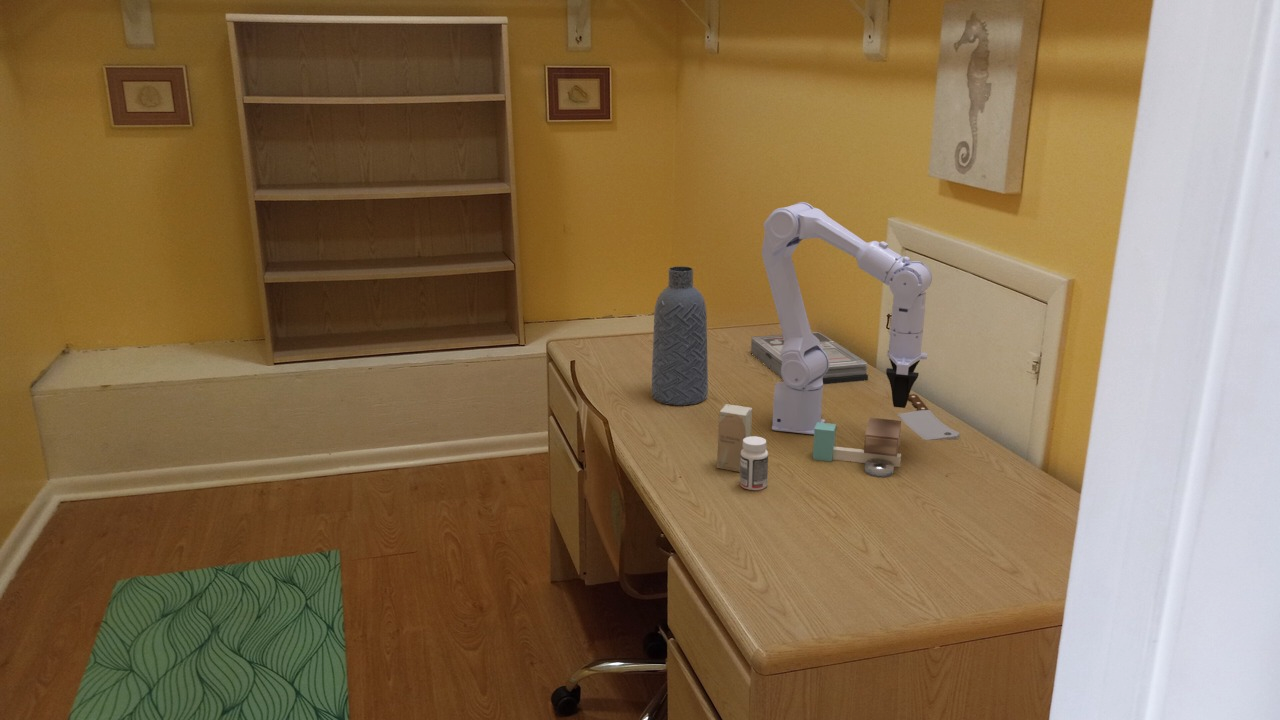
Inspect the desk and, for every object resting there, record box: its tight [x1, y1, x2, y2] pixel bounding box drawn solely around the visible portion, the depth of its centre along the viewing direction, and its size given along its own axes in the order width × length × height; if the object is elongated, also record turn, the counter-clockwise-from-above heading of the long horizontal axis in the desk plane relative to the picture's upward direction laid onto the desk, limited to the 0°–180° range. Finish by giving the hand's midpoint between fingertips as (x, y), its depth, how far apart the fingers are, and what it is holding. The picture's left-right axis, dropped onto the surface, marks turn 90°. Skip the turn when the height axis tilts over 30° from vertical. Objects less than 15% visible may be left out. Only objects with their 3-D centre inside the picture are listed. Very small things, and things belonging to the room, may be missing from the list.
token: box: [864, 459, 895, 478], centre depth 179 cm, size 5×5×2 cm
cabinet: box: [863, 417, 902, 457], centre depth 181 cm, size 6×9×7 cm, turn 163°
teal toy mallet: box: [812, 422, 902, 468], centre depth 182 cm, size 16×4×6 cm, turn 73°
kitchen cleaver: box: [896, 393, 961, 441], centre depth 204 cm, size 24×1×10 cm
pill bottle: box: [739, 435, 769, 491], centre depth 172 cm, size 5×5×8 cm
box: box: [716, 403, 753, 473], centre depth 179 cm, size 5×4×11 cm
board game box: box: [750, 331, 869, 385], centre depth 237 cm, size 18×27×4 cm
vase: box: [650, 266, 709, 406], centre depth 212 cm, size 12×12×28 cm
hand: (900, 399), depth 186 cm, fingers open, 7 cm apart
